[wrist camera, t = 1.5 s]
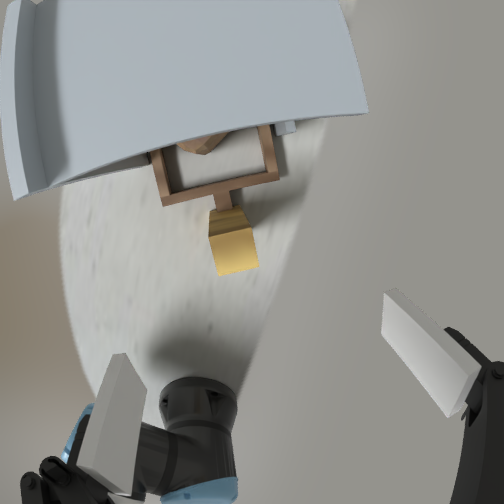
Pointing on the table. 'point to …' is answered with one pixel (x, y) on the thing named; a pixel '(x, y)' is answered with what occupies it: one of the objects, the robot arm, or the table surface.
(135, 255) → the table surface
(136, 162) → the shelf
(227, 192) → the pull yoke
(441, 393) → the robot arm
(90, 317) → the table surface
